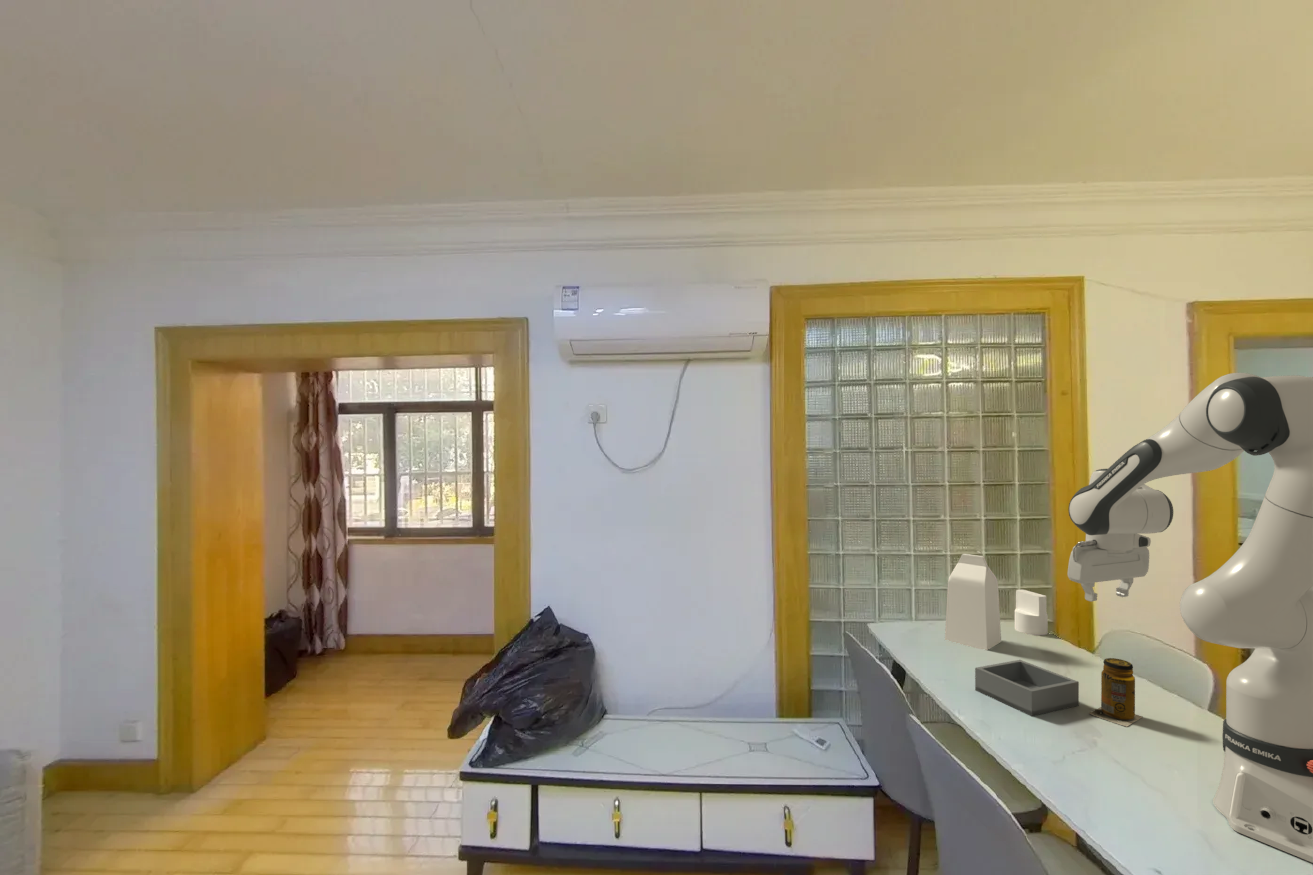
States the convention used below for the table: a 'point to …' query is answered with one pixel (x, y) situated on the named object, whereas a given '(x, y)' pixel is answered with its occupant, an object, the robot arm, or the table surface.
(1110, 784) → the table surface
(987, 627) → the milk
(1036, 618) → the base with upright slab
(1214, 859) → the table surface
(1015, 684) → the box
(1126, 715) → the condiment
